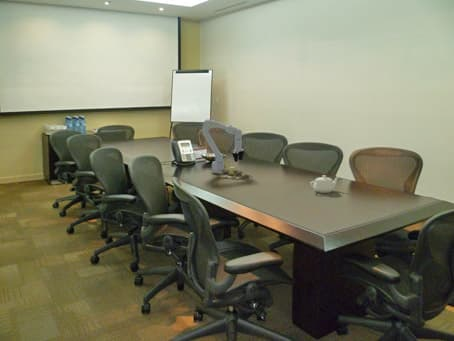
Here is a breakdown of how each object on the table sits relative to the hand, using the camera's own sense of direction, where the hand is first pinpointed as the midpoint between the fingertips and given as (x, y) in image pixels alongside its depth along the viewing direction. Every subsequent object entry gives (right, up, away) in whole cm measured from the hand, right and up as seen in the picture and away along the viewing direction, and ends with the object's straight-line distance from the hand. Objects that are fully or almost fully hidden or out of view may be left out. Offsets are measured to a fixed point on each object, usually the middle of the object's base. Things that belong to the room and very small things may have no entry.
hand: (238, 161), depth 327 cm
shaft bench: (-5, -12, -13) cm, 19 cm away
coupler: (-5, -11, -14) cm, 18 cm away
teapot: (+55, -22, -59) cm, 84 cm away
